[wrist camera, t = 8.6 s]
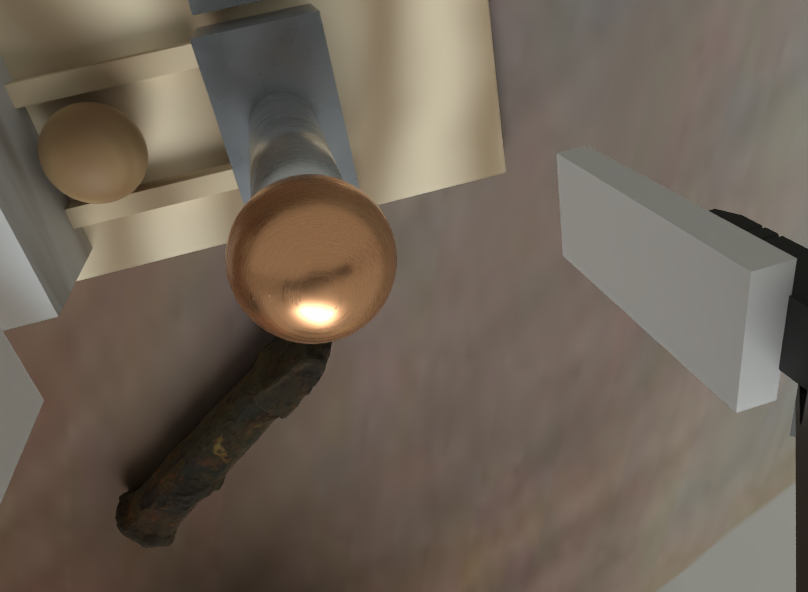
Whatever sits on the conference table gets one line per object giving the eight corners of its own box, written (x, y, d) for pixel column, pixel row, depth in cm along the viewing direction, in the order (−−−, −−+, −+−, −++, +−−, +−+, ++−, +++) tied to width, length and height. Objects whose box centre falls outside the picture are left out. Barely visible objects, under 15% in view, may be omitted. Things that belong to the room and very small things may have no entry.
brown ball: (79, 194, 31) (52, 229, 27) (37, 104, 29) (2, 128, 25) (168, 173, 32) (155, 205, 28) (134, 83, 29) (113, 103, 26)
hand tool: (170, 513, 44) (163, 570, 40) (118, 489, 42) (105, 545, 38) (361, 325, 40) (374, 366, 36) (312, 289, 38) (321, 328, 34)
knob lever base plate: (-5, 290, 34) (-73, 384, 27) (-155, 32, 27) (-299, 62, 20) (496, 164, 37) (559, 218, 30) (468, -98, 30) (539, -112, 23)
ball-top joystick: (263, 228, 34) (283, 526, 16) (181, -27, 28) (76, 15, 10) (355, 205, 34) (469, 470, 17) (295, -51, 28) (379, -49, 11)
